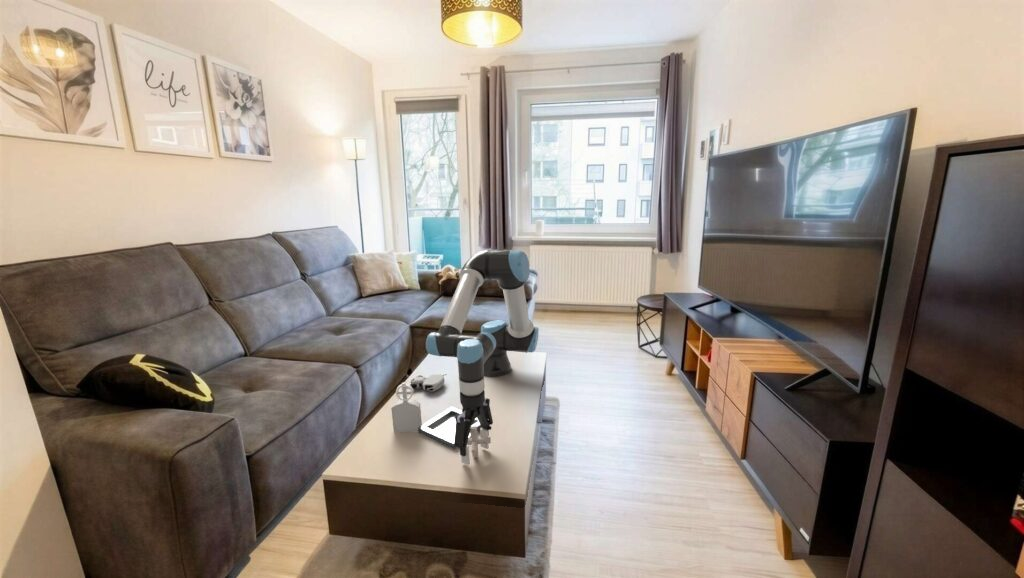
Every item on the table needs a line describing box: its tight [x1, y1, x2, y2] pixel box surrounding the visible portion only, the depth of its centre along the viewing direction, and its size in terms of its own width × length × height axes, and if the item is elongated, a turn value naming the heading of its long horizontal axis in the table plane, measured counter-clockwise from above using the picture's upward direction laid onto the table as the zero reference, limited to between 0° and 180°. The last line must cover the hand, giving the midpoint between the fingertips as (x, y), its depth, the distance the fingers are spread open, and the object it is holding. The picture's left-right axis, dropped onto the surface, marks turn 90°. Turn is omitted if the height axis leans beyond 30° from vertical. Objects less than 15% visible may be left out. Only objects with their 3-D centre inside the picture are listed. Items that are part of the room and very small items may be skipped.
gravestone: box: [391, 382, 423, 433], centre depth 142 cm, size 3×9×18 cm, turn 92°
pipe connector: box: [467, 426, 492, 458], centre depth 127 cm, size 10×10×10 cm
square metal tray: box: [417, 406, 483, 450], centre depth 144 cm, size 17×17×2 cm
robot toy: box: [406, 373, 447, 392], centre depth 175 cm, size 12×4×15 cm
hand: (475, 454), depth 129 cm, fingers closed on pipe connector, 9 cm apart
